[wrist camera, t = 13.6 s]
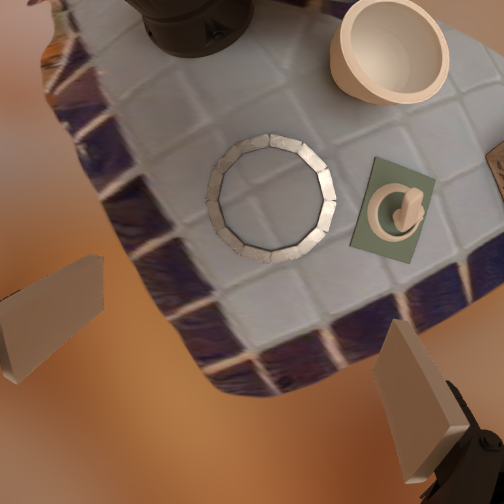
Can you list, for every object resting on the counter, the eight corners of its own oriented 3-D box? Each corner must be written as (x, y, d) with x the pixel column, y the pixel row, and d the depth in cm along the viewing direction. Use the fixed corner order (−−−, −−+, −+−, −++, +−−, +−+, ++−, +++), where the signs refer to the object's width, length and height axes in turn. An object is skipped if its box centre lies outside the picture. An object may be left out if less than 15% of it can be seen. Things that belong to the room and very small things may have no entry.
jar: (392, 116, 36) (443, 119, 22) (316, 97, 36) (331, 85, 22) (402, 44, 31) (453, 17, 17) (327, 23, 31) (346, -21, 18)
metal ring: (225, 124, 38) (223, 123, 37) (347, 156, 37) (349, 155, 36) (197, 241, 43) (195, 243, 42) (313, 273, 42) (313, 276, 41)
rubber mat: (375, 157, 37) (376, 156, 36) (434, 179, 36) (435, 179, 36) (349, 245, 40) (350, 246, 40) (408, 263, 40) (409, 264, 39)
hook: (395, 135, 31) (445, 171, 27) (394, 188, 41) (430, 220, 38) (352, 176, 31) (403, 218, 28) (359, 223, 42) (396, 257, 38)
